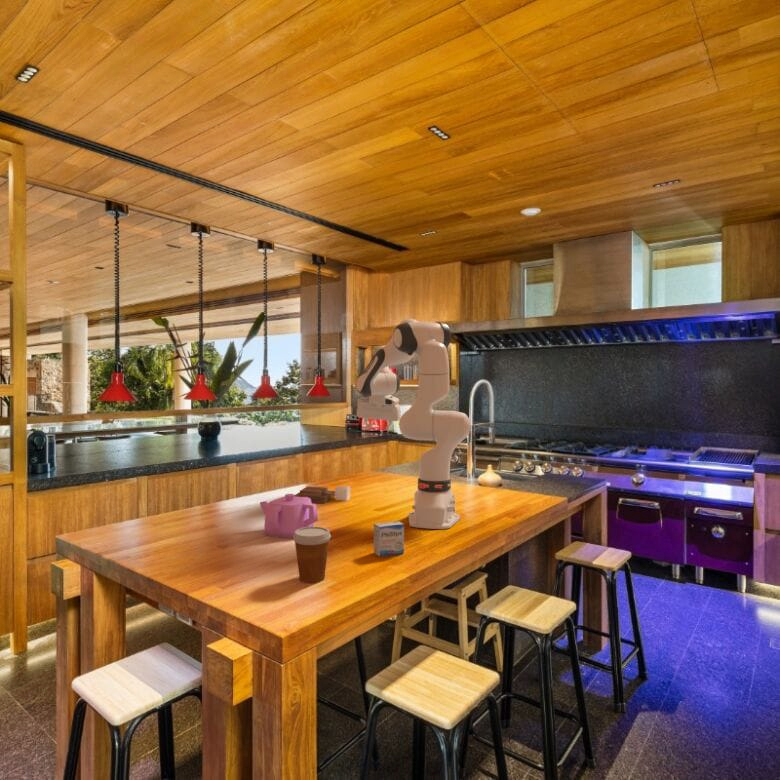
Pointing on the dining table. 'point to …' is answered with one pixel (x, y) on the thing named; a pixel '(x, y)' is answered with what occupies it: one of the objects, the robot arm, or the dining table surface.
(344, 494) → the cream block
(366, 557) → the dining table surface
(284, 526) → the teakettle
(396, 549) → the medicine box
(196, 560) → the dining table surface
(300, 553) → the disposable coffee cup
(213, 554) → the dining table surface
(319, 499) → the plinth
